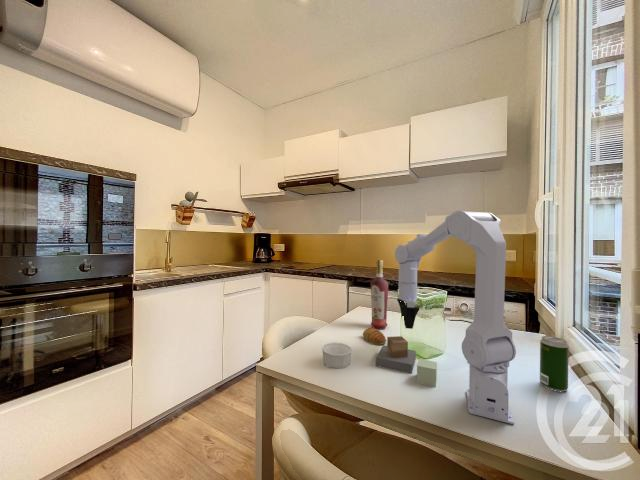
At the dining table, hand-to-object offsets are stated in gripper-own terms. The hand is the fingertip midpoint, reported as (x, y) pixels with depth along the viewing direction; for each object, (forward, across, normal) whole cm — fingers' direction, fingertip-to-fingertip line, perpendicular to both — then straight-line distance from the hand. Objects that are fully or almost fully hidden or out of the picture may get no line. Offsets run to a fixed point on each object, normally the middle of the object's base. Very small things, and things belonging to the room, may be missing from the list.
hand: (407, 324), depth 87 cm
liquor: (+10, +24, +8) cm, 27 cm away
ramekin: (+10, -11, +22) cm, 26 cm away
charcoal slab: (+10, -7, +4) cm, 13 cm away
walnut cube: (+7, -7, +4) cm, 11 cm away
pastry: (+10, +10, +10) cm, 17 cm away
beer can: (+10, -13, -34) cm, 37 cm away
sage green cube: (+10, -16, -3) cm, 19 cm away
